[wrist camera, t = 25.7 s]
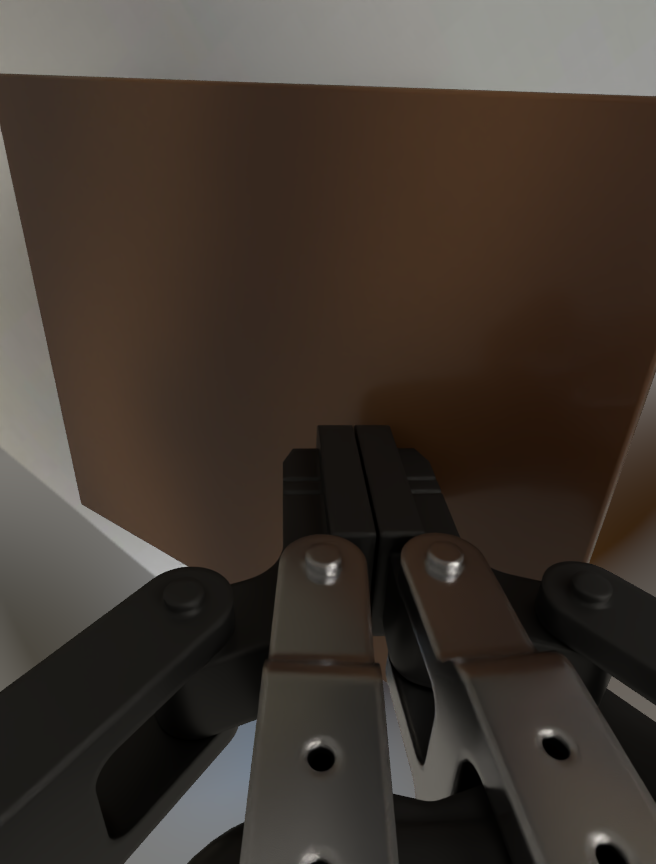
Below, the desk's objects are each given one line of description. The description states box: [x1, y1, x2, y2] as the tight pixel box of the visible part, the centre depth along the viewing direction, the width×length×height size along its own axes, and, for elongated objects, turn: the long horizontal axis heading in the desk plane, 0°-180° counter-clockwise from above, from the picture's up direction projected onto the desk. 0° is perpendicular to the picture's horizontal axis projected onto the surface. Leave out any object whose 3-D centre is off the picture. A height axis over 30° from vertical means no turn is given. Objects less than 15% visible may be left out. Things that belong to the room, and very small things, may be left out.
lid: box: [0, 74, 656, 682], centre depth 15 cm, size 16×14×1 cm
